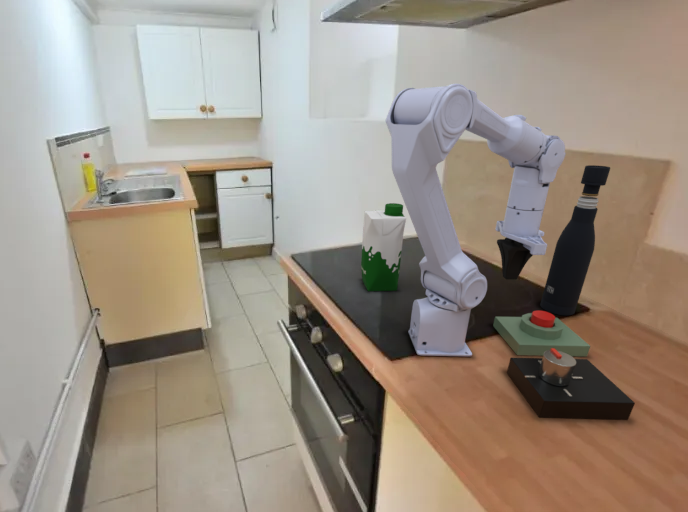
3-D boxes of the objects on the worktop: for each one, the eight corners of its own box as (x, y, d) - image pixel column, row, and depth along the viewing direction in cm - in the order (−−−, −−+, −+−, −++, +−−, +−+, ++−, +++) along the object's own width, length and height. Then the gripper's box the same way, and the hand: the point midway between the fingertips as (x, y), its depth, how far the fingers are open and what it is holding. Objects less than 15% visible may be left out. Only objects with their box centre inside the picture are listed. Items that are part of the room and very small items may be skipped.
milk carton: (401, 292, 90) (410, 209, 82) (364, 293, 90) (369, 210, 82) (391, 277, 98) (398, 200, 91) (357, 278, 98) (361, 201, 90)
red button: (536, 328, 68) (538, 319, 67) (526, 318, 71) (528, 310, 70) (557, 328, 68) (559, 320, 67) (546, 318, 71) (548, 310, 70)
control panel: (538, 417, 53) (543, 399, 51) (506, 372, 62) (509, 356, 61) (628, 420, 52) (635, 402, 51) (581, 374, 61) (587, 358, 60)
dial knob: (575, 386, 54) (583, 364, 53) (547, 386, 54) (553, 364, 53) (559, 369, 58) (566, 348, 56) (532, 368, 58) (538, 347, 56)
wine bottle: (577, 308, 82) (621, 166, 71) (571, 318, 78) (616, 169, 67) (544, 299, 87) (580, 163, 75) (536, 308, 82) (574, 166, 71)
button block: (516, 355, 66) (521, 335, 65) (492, 326, 76) (496, 308, 74) (587, 356, 66) (593, 337, 64) (554, 327, 75) (559, 309, 74)
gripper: (574, 217, 60) (553, 295, 65) (527, 198, 73) (513, 263, 78) (528, 217, 60) (511, 294, 65) (490, 198, 73) (478, 263, 78)
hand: (509, 278), depth 72 cm, fingers closed
